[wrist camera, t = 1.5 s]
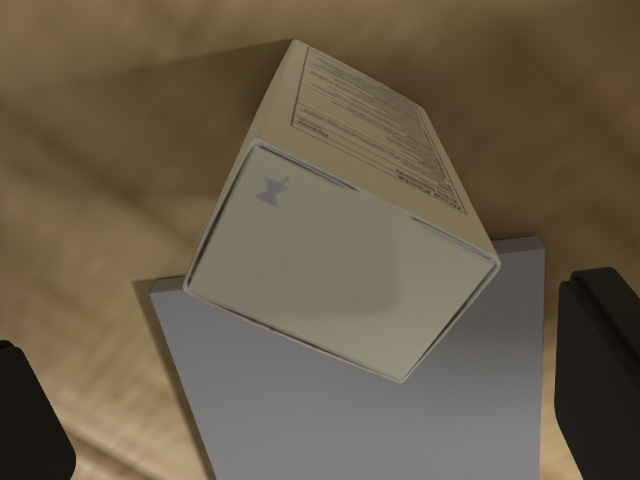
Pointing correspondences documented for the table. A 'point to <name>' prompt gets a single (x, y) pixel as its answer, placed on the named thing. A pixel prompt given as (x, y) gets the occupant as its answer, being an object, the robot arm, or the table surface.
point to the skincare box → (343, 222)
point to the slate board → (369, 391)
